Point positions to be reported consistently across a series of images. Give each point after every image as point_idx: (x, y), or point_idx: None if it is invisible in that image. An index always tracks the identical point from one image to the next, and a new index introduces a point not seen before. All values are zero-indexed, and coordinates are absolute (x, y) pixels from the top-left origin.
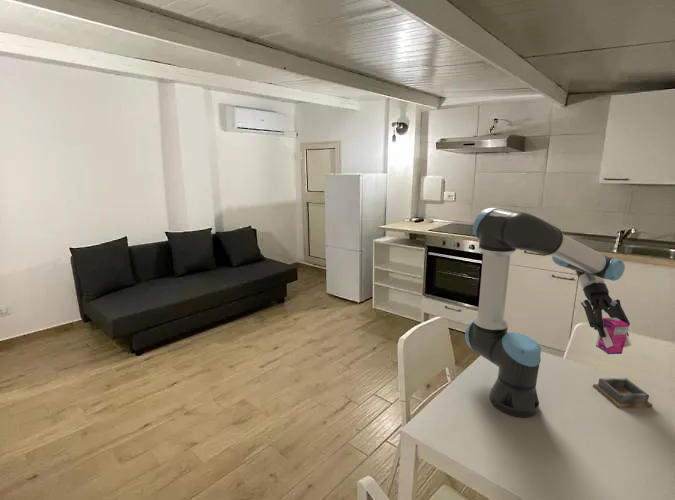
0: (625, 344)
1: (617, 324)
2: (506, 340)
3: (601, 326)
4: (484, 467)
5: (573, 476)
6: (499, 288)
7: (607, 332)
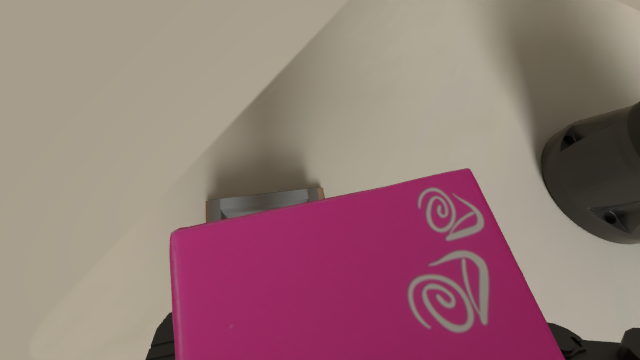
0: None
1: (417, 192)
2: None
3: (550, 329)
4: (629, 15)
5: (499, 5)
6: None
7: None
